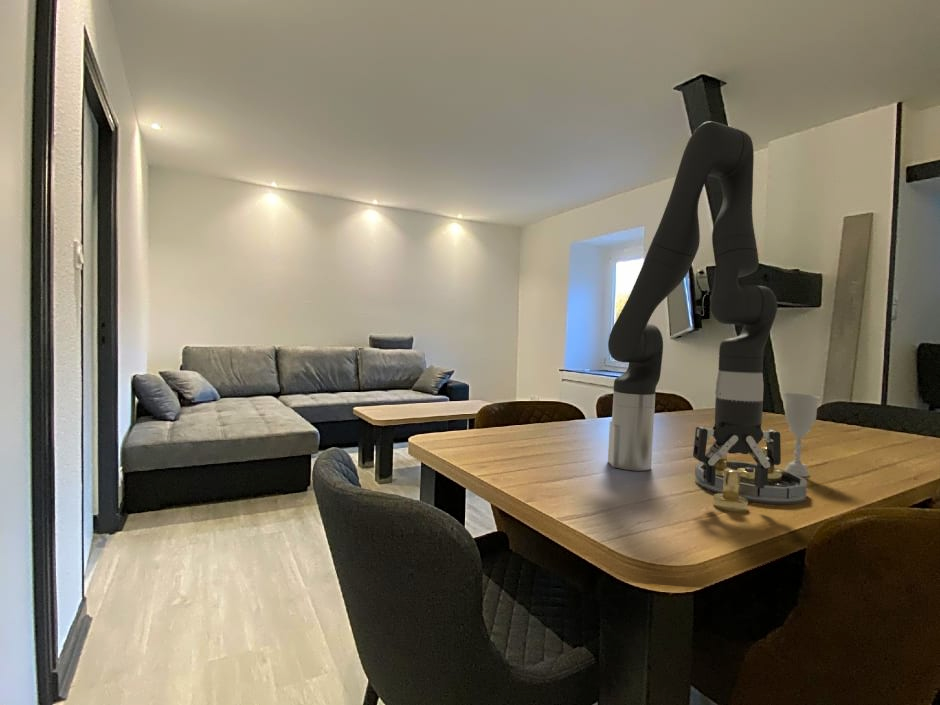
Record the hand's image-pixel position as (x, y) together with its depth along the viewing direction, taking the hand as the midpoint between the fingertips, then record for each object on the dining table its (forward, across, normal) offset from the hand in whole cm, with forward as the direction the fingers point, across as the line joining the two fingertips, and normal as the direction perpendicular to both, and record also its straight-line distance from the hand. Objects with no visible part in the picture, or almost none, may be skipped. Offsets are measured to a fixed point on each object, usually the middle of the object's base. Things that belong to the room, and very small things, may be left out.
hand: (734, 486), depth 91 cm
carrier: (+4, +9, +13) cm, 16 cm away
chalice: (+4, +26, +27) cm, 37 cm away
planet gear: (+4, -1, 0) cm, 4 cm away
